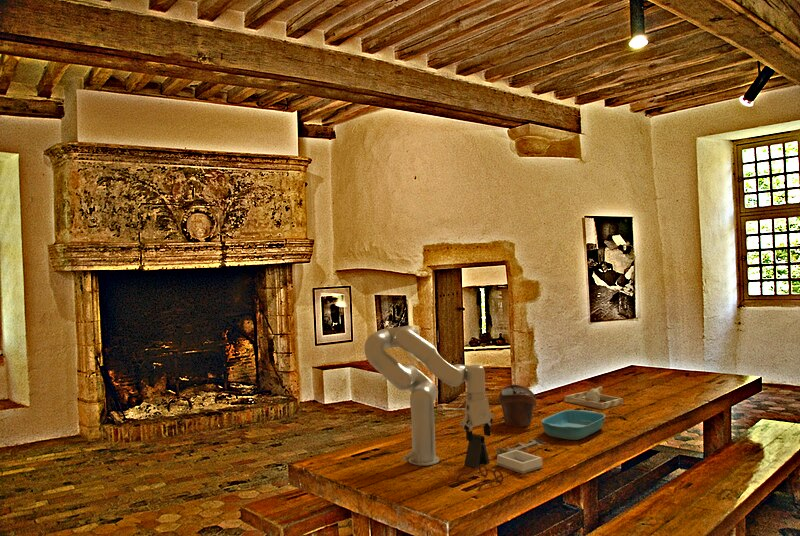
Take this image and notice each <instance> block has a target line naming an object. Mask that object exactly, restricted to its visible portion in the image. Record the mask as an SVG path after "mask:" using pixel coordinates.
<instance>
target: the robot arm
mask: <svg viewBox="0 0 800 536" xmlns="http://www.w3.org/2000/svg"><path fill="white" fill-rule="evenodd" d="M363 347H364V357H365V358H366V360H367V362H368V363H369V365H371V366H372V368H374V369H375V370H376V371H377V372H379V373H380V375H381V376H383V377H384V378H385V379H386V380H387V381H388V382H390V384H392V385H393V387H395V388H396V389H397V390H399V391H407V390H408V391H409V392H410V397H409V405H410V413H411V414H410V416H411V417H410V419H411V450H410V451H409V454H405V455H403V456H402V460H403V461H407V460H408V463H410V464H411V465H415V466H419V467H421V466H424V467H425V466H432V465H435V464H438V463H439V462H440V457H439V456H437V455H436V430H435V429H436V426H435V423H436V422H435V409H434V402H435V401H436V399H437V397H438V396H439V395H438V394H439V390H438V387H437V386H436V384H435V383H434V382H433V381H432V379H430V378H429V377H428V376H427V375H425V374H424V373H423V372H422V371H421V370H419V369H418V368H417V367H416V366H414V365H412V364H407V363H406V364H401V363H400V362H399V361H398V360H397V359H396V358H395V357H393V356H392V355H390V354H389V353H388V352H387V351H386V350H387V349H394V348H401V350H402V351H404V352H406V353H407V354H409V355H410V356H412V357H413V358H415V359H416V360H417V361H419V362H420V363H421V364H422V365H424V367H425V368H426V369H427V370H428V371H429V372H430V374H432V375H434V376H435V377H436V379H439V380H440V381H441V382H443V383H445V384H446V385H448V386H450V387H454V388H455V387H458V386H459V387H460V385H461V384H462V383H463V382H465V383H466V385H465V386H466V395H465V398H466V401H465V408H464V409H465V411H464V413H465V416H464V417H463V419H461V420H460V424H461V426H462V429H464V431H465V437H466V438H465V439H466V441H468V442H469V441H473V434H474V433H473V431H472V429H473V428H474V427H478V426H481V425H483V434H484V435H483V436H487V437H490V436H492V435H491V426H492V423H493V420H494V417H495V413H494V412H491V409H490V405H489V399H488V397H487V394H486V377H485V376H486V375H485V368H484V366H483V365H481V364H471V365H469V364H459V363H458V364H457V363H456V364H453V365H452V364H450V363H449V362H447V361H446V360H445V359H444V358H443V357H442V356H441V355H440V354H439V352H438V350H437V348H436V347H435V345H433V344H432V343H431V342H429V341H428V340H426V339H425V338H423V337H421V336H420V335H419V331H418V329H417V328H415V327H414V326H411V325H405V326H397V327H390V328H384V329H379V330H377V331H374V332H373V333H371V334H369V336H367V338H366V341H365V343H364V346H363Z"/></svg>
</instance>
